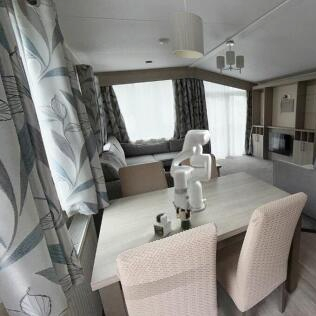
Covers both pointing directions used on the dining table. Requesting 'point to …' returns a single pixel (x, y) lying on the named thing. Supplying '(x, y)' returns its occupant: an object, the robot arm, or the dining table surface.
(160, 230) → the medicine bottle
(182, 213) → the character mug
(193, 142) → the robot arm
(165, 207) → the dining table surface
